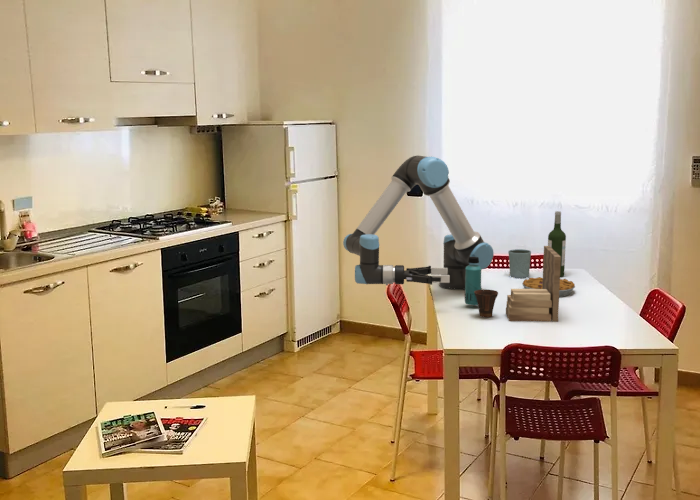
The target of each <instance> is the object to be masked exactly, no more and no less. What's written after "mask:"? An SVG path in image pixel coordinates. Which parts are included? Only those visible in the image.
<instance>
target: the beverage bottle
mask: <svg viewBox="0 0 700 500" xmlns="http://www.w3.org/2000/svg"><path fill="white" fill-rule="evenodd" d="M468 262H469V263H479V258H478V257H469V260H468ZM465 269H466V276H465V289H464V303H465V304H466V305H469V306H478V303H477V299H476V296H475V294H474V291H476V290H482V270H483V269H482V268H481V267H480V266H479V265H468V266H467V267H466V268H465Z"/></svg>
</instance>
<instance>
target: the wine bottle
mask: <svg viewBox="0 0 700 500" xmlns="http://www.w3.org/2000/svg"><path fill="white" fill-rule="evenodd" d="M553 224H554V225H553V229H552V230H550V232H549V233H548V235H547V246H550V247H551V248H552V249H553V250H554V251H555V252H556V253H557V254H558V255H559V256H561V266H560V278H563V277H565V263H566V247H567V246H566V245H567V244H566V242H567V241H566V240H567V235H566V233H565V232H564V231H563V230H562V212H561V211H559V210H558V211H557V210H555V211H554V223H553Z"/></svg>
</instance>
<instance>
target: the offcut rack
mask: <svg viewBox="0 0 700 500" xmlns="http://www.w3.org/2000/svg"><path fill="white" fill-rule="evenodd" d="M542 261H543V263H542V278H543V284H542V289H525V288H510V294H507V295H506V296H507V297H506V306H505V315H506V317H507V319H508V322H559V307H560V306H559V305H560V297H559V288H560V279H561V277H560V266H561V256H559V255H558V254H557V253H556V252H555V251H554V250H553V249H552V248H551V247H550V246H548V245H543V260H542Z"/></svg>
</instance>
